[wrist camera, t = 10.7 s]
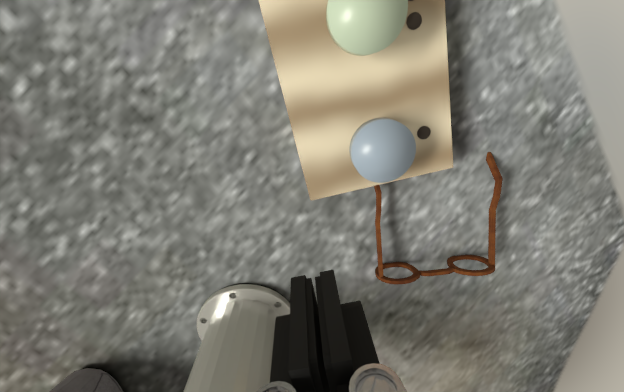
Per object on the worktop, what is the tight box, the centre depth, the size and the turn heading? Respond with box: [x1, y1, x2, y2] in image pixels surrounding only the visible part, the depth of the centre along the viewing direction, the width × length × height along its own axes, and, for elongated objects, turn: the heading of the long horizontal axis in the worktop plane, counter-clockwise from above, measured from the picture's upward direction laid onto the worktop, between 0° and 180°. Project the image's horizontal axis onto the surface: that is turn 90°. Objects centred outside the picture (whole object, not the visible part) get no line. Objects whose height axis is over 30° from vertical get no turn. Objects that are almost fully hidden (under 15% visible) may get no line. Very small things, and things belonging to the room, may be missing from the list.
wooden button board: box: [259, 0, 453, 200], centre depth 24 cm, size 28×14×4 cm, turn 13°
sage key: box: [326, 0, 408, 56], centre depth 20 cm, size 5×5×2 cm
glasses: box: [374, 152, 503, 284], centre depth 31 cm, size 13×13×5 cm
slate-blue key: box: [349, 117, 416, 183], centre depth 24 cm, size 5×5×2 cm
